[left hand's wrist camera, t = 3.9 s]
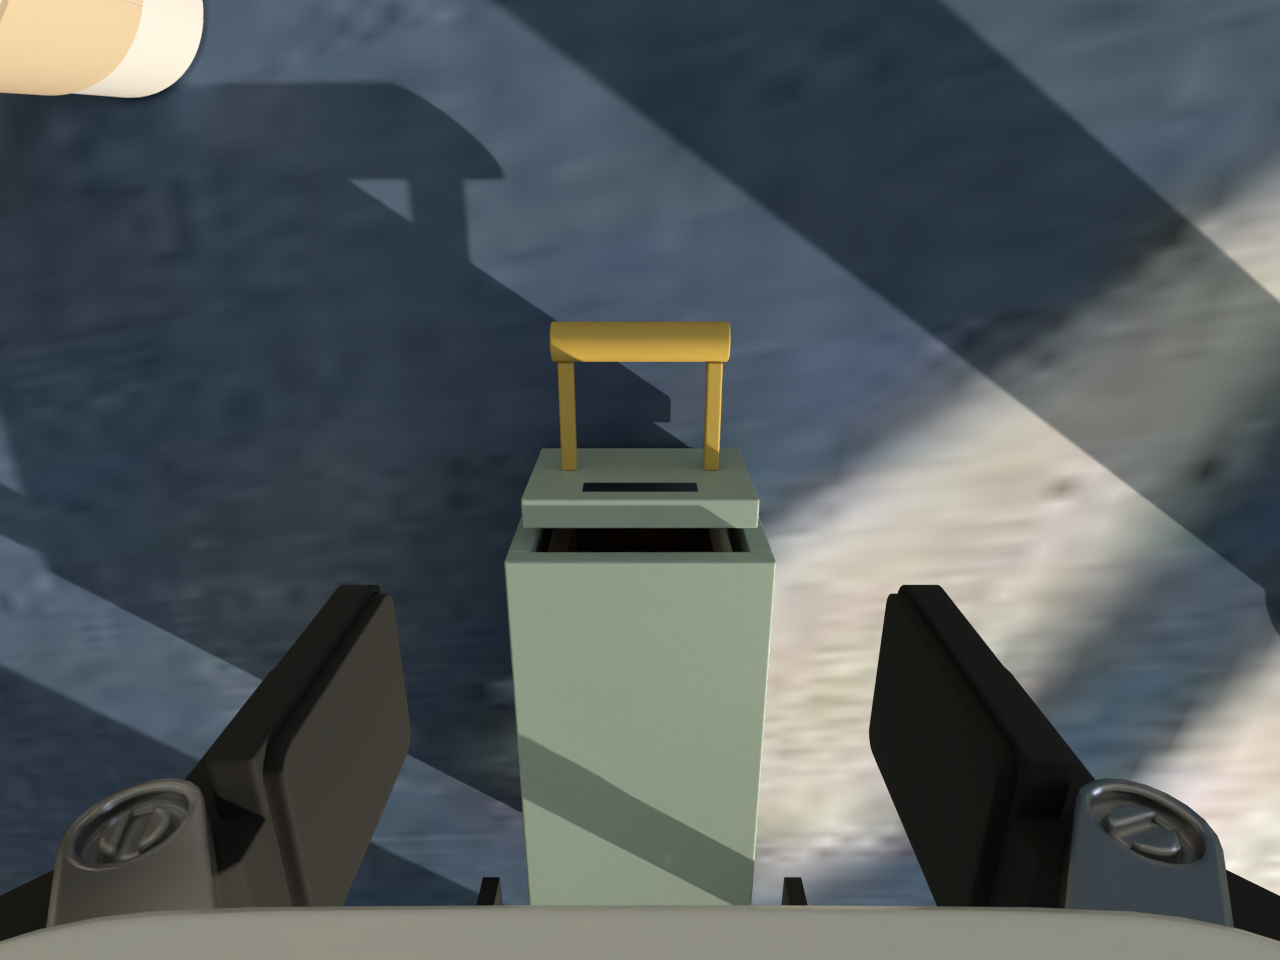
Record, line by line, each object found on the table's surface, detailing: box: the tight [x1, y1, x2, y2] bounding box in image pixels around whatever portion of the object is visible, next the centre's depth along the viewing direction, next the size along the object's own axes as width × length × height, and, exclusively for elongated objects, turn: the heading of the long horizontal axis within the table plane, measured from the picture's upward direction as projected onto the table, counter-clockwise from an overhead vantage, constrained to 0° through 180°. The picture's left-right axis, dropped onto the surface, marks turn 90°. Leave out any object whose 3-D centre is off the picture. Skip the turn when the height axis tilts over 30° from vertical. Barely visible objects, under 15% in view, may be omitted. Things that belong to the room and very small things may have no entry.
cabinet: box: [504, 516, 776, 905], centre depth 34 cm, size 21×10×8 cm, turn 0°
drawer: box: [521, 322, 759, 552], centre depth 32 cm, size 26×9×6 cm, turn 0°
